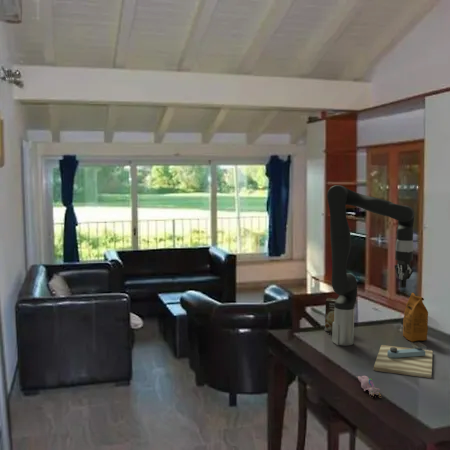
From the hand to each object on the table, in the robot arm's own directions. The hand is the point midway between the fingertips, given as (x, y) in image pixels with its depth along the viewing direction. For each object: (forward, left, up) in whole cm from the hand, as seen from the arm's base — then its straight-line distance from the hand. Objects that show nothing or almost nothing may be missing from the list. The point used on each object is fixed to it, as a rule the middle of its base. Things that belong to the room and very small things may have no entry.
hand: (402, 287), depth 248 cm
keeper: (+2, -11, -28) cm, 30 cm away
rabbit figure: (-37, -41, -29) cm, 62 cm away
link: (-6, -13, -27) cm, 31 cm away
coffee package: (+15, +13, -29) cm, 35 cm away
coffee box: (-18, +34, -29) cm, 48 cm away
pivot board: (-7, -16, -29) cm, 34 cm away
